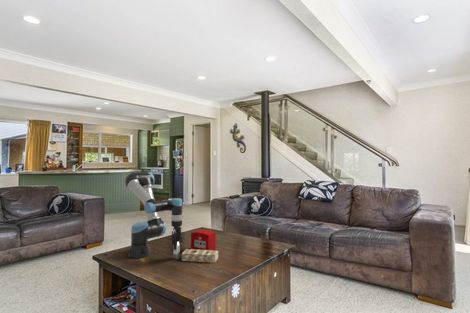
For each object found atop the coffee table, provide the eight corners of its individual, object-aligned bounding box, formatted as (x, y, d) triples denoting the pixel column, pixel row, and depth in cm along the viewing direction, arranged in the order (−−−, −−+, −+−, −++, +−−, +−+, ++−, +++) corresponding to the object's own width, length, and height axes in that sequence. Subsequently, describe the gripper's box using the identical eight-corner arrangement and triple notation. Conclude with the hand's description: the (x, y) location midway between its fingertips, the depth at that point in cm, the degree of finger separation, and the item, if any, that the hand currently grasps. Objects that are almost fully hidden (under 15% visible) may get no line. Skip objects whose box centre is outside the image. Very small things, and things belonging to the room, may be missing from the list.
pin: (173, 259, 196) (173, 242, 197) (175, 257, 200) (175, 240, 200) (178, 259, 196) (178, 242, 196) (179, 257, 199) (179, 241, 200)
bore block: (181, 260, 194) (181, 253, 194) (186, 255, 204) (186, 248, 204) (215, 262, 191) (215, 255, 191) (218, 257, 200) (218, 250, 201)
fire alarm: (190, 250, 216) (190, 231, 216) (198, 247, 225) (198, 228, 225) (208, 254, 208) (208, 234, 208) (215, 250, 218) (215, 231, 218)
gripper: (177, 222, 190) (177, 257, 189) (185, 218, 206) (185, 249, 206) (167, 222, 191) (166, 256, 190) (176, 217, 207) (175, 249, 207)
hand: (176, 252), depth 198 cm, fingers closed on pin, 3 cm apart
